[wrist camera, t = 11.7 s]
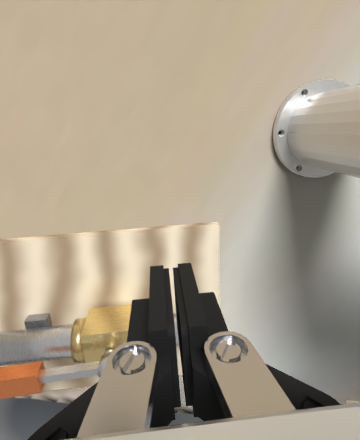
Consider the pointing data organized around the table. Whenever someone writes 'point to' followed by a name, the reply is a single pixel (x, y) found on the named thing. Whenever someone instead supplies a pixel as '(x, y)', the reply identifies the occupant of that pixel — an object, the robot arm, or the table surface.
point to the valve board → (98, 274)
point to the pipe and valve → (68, 337)
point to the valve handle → (43, 376)
